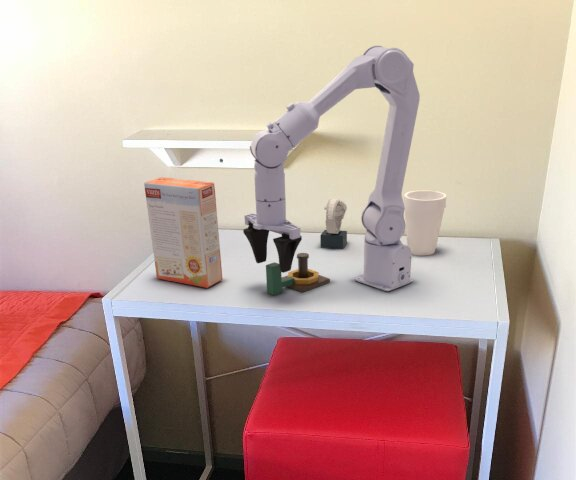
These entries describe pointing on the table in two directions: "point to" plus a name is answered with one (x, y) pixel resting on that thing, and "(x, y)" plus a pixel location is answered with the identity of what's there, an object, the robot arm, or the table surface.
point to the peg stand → (306, 275)
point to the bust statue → (334, 225)
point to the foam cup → (423, 220)
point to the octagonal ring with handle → (277, 283)
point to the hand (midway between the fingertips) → (273, 266)
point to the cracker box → (184, 231)
